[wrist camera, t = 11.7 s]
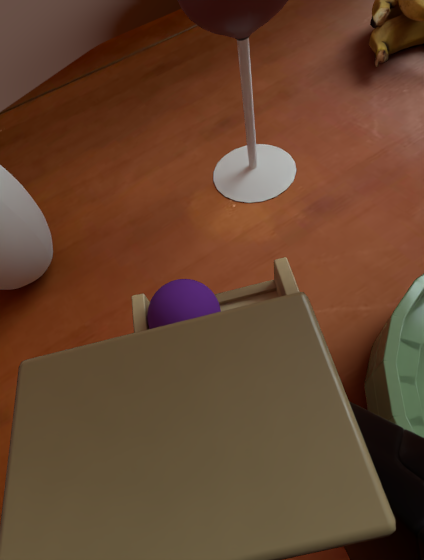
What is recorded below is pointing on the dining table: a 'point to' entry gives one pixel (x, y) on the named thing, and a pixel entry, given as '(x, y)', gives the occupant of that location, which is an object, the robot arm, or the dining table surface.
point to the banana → (396, 26)
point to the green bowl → (400, 364)
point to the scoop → (192, 441)
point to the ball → (181, 303)
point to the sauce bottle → (21, 236)
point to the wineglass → (245, 102)
